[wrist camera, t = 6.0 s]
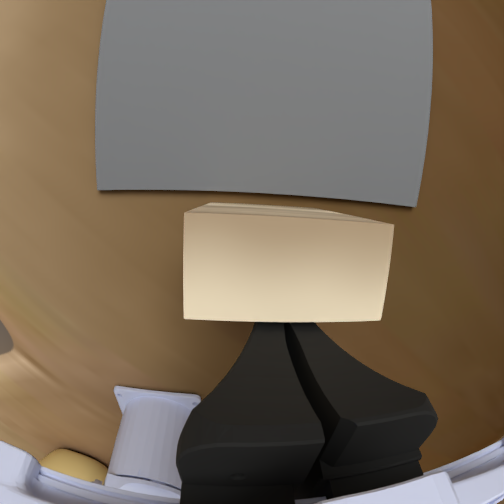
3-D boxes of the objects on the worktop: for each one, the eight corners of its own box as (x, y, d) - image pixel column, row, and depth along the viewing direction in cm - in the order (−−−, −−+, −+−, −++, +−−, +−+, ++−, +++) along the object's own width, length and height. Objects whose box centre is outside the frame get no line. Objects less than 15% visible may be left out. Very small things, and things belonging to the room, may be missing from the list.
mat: (413, 205, 18) (415, 207, 18) (99, 188, 17) (97, 190, 17) (426, -12, 12) (429, -14, 11) (119, -45, 10) (117, -47, 10)
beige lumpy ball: (33, 435, 30) (12, 490, 20) (91, 442, 29) (72, 511, 19) (76, 472, 35) (63, 522, 25) (134, 480, 34) (125, 538, 24)
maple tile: (308, 257, 19) (380, 321, 9) (209, 254, 18) (183, 320, 9) (312, 207, 18) (394, 224, 8) (211, 202, 18) (184, 212, 8)
